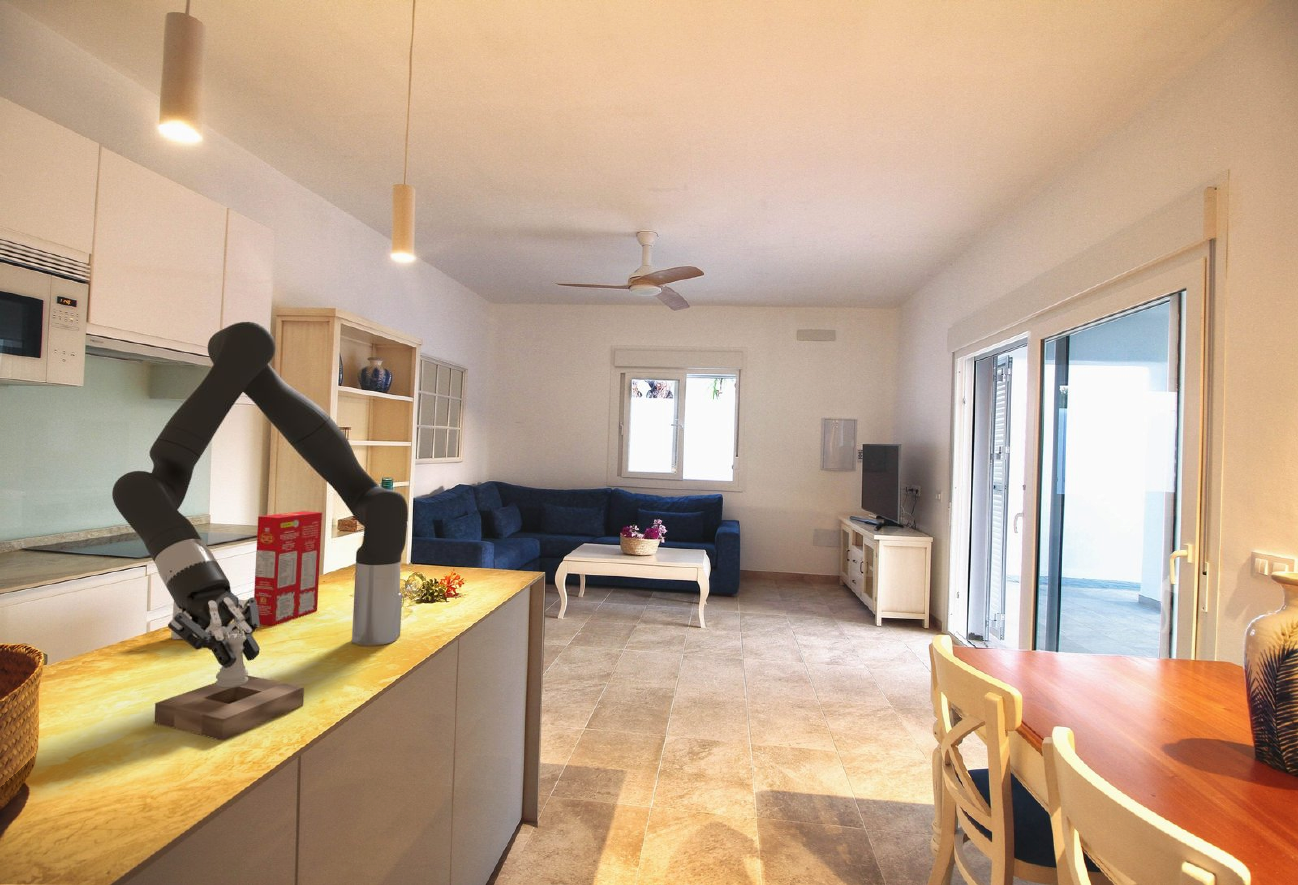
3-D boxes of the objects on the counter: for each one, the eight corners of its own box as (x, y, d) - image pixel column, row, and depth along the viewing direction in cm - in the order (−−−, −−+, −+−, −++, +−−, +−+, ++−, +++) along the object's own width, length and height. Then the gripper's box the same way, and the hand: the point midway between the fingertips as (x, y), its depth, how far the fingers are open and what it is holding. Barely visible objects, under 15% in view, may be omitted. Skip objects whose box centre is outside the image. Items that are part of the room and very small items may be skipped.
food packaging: (298, 609, 165) (303, 511, 165) (317, 611, 164) (322, 512, 164) (252, 624, 150) (258, 516, 150) (272, 626, 149) (277, 517, 149)
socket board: (239, 691, 111) (240, 673, 111) (303, 705, 106) (304, 686, 106) (154, 723, 97) (155, 702, 97) (222, 740, 93) (223, 719, 93)
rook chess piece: (224, 678, 104) (227, 628, 104) (254, 679, 104) (257, 629, 104) (208, 688, 99) (211, 636, 99) (238, 689, 100) (242, 637, 100)
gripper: (159, 565, 98) (213, 659, 94) (244, 553, 111) (295, 634, 107) (133, 596, 99) (184, 689, 95) (220, 581, 113) (268, 662, 109)
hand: (242, 660), depth 101 cm, fingers closed on rook chess piece, 3 cm apart
